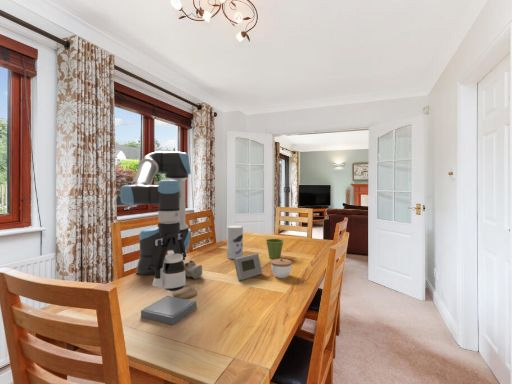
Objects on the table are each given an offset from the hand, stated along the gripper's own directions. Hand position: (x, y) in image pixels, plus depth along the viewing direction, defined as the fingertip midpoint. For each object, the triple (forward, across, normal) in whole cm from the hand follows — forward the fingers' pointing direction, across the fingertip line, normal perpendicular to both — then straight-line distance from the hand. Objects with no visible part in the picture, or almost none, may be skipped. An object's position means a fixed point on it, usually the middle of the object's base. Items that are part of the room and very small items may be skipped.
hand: (169, 281), depth 102 cm
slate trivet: (+12, 0, 0) cm, 12 cm away
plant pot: (+11, +86, -13) cm, 88 cm away
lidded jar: (+12, +54, -27) cm, 62 cm away
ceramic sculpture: (+12, +36, +16) cm, 41 cm away
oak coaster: (+11, +16, +5) cm, 20 cm away
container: (+11, +77, +11) cm, 79 cm away
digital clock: (+12, +47, -11) cm, 50 cm away
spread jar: (+2, 0, 0) cm, 2 cm away
